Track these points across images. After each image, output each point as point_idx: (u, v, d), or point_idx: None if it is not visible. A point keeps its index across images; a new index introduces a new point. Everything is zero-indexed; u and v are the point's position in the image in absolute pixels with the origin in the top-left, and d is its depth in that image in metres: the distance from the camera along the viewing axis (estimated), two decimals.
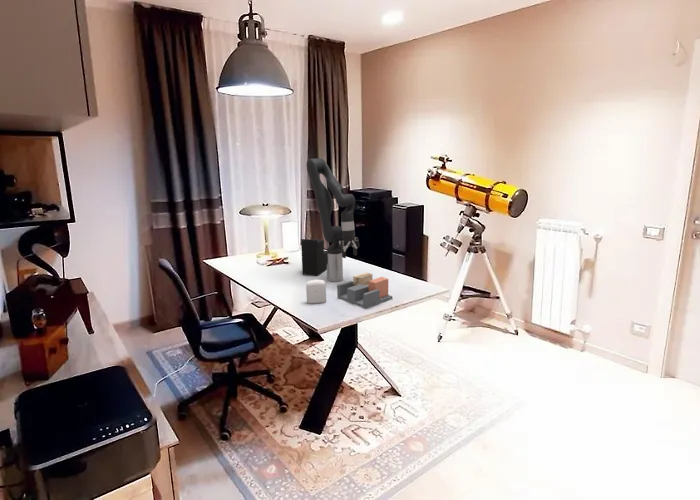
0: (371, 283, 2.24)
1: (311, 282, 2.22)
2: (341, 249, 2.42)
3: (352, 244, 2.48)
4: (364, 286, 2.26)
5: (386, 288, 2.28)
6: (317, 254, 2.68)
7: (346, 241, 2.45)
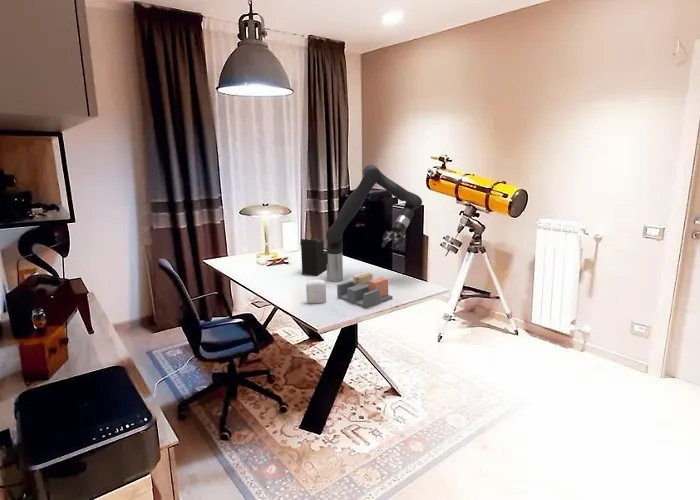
0: (371, 283, 2.24)
1: (311, 282, 2.22)
2: (401, 242, 2.42)
3: None
4: (364, 286, 2.26)
5: (386, 288, 2.28)
6: (317, 254, 2.68)
7: None
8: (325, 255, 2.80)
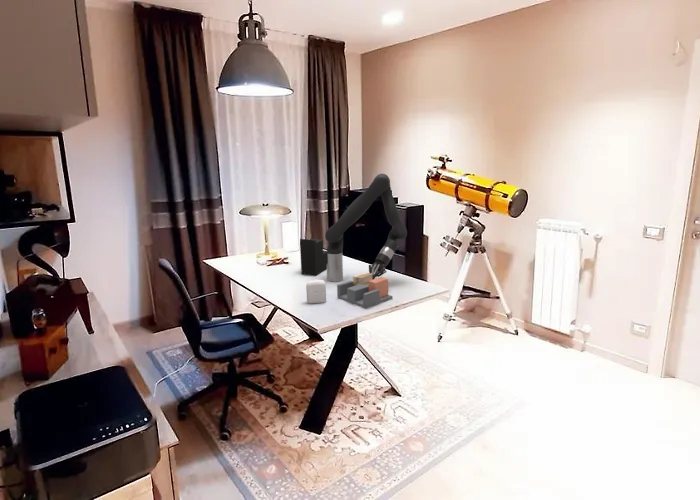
0: (371, 283, 2.24)
1: (311, 282, 2.22)
2: (379, 276, 2.40)
3: None
4: (364, 286, 2.26)
5: (386, 288, 2.28)
6: (316, 254, 2.68)
7: None
8: (324, 255, 2.80)
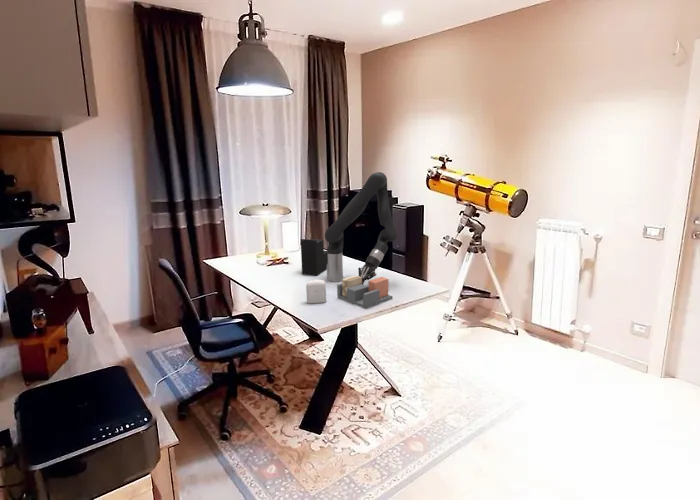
0: (371, 283, 2.24)
1: (311, 282, 2.22)
2: None
3: None
4: (364, 286, 2.26)
5: (386, 288, 2.28)
6: (316, 254, 2.68)
7: None
8: (325, 255, 2.80)
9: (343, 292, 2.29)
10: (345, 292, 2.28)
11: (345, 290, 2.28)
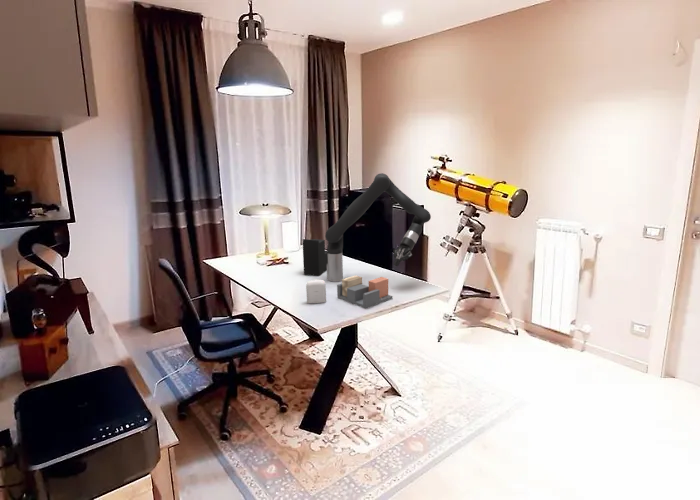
0: (371, 283, 2.24)
1: (311, 282, 2.22)
2: None
3: None
4: (364, 286, 2.26)
5: (386, 288, 2.28)
6: (319, 254, 2.67)
7: None
8: (326, 255, 2.80)
9: (343, 292, 2.29)
10: (346, 292, 2.28)
11: (345, 290, 2.28)
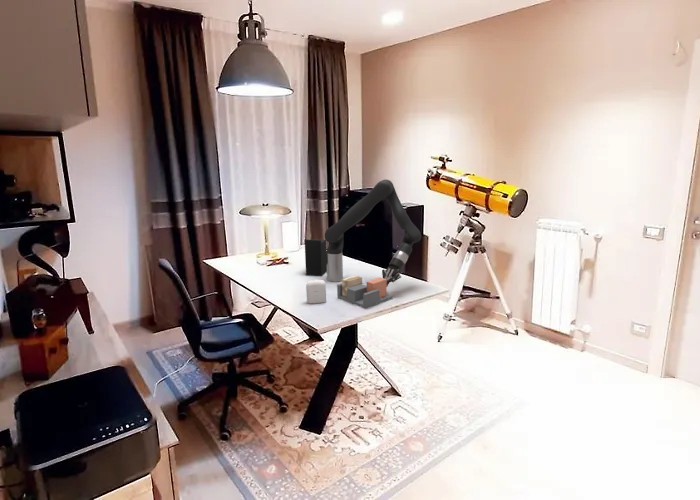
0: (369, 284, 2.23)
1: (311, 282, 2.22)
2: (393, 281, 2.30)
3: None
4: (364, 286, 2.26)
5: (384, 289, 2.27)
6: (321, 254, 2.67)
7: None
8: None
9: (343, 292, 2.29)
10: (346, 292, 2.28)
11: (345, 290, 2.28)
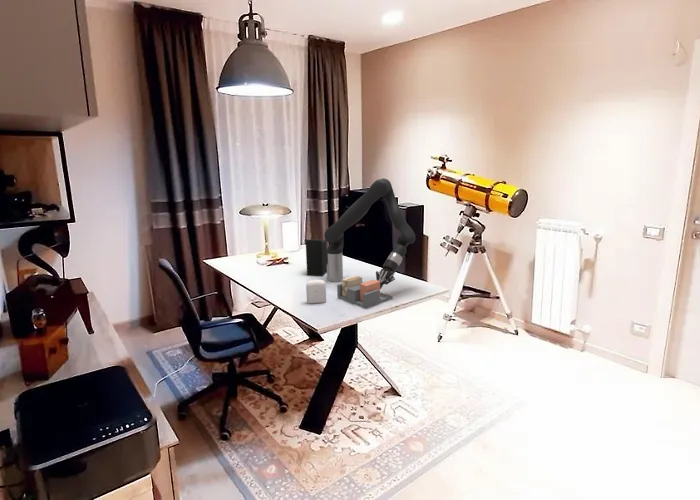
0: (362, 286, 2.19)
1: (311, 282, 2.22)
2: (387, 283, 2.27)
3: None
4: None
5: None
6: (322, 254, 2.67)
7: None
8: None
9: (343, 292, 2.29)
10: (346, 292, 2.28)
11: (345, 290, 2.28)
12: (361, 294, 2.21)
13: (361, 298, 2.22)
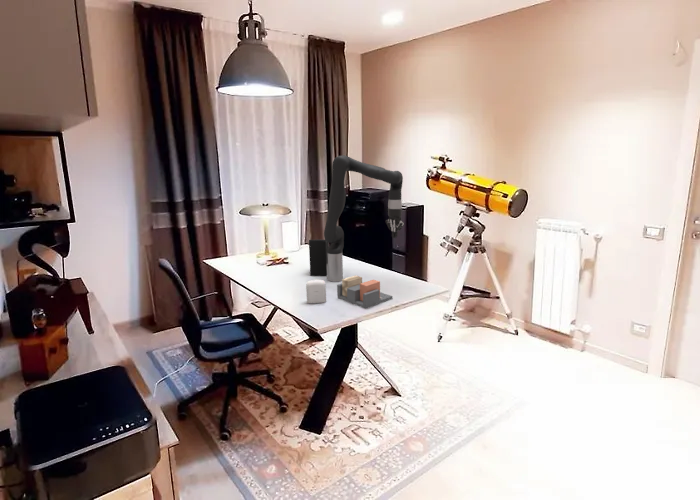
0: (362, 286, 2.19)
1: (311, 282, 2.22)
2: (400, 229, 2.39)
3: None
4: None
5: None
6: (326, 254, 2.67)
7: None
8: None
9: (343, 292, 2.29)
10: (346, 292, 2.28)
11: (345, 290, 2.28)
12: (361, 294, 2.21)
13: (361, 298, 2.22)
